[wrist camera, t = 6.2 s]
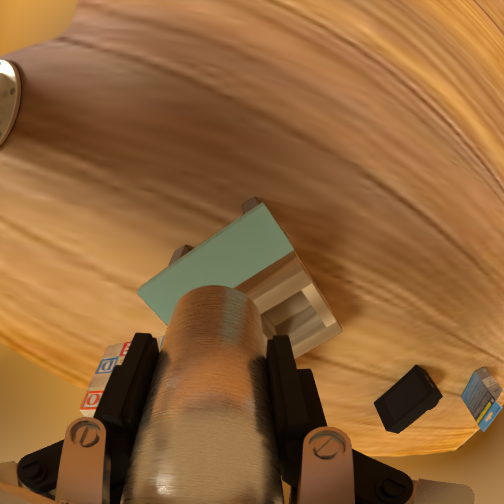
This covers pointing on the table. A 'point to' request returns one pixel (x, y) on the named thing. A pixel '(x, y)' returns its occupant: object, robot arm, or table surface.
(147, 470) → the peg
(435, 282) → the table surface
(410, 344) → the table surface
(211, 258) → the teal bridge block
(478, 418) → the label tape box
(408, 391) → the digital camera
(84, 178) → the table surface
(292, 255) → the socket
